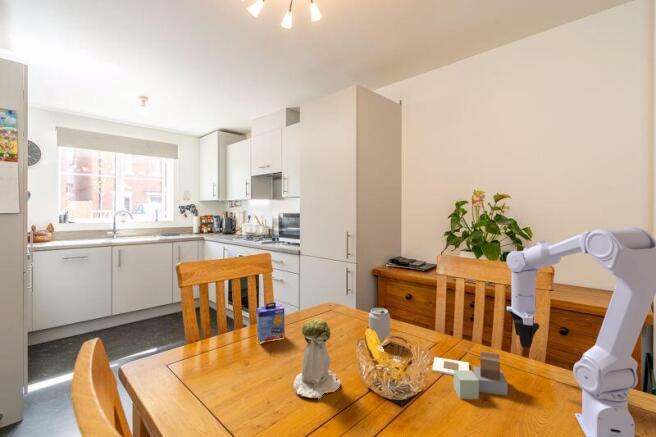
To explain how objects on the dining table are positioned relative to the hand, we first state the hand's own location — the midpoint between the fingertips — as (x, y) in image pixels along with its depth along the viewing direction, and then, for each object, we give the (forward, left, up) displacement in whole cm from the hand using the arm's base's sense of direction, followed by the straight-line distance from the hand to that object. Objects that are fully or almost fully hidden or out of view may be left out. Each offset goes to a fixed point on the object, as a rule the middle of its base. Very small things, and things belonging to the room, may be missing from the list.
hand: (523, 340), depth 87 cm
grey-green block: (-14, +15, -10) cm, 23 cm away
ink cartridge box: (-4, +82, -11) cm, 83 cm away
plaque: (-2, +19, -10) cm, 22 cm away
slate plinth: (-8, +9, -11) cm, 16 cm away
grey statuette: (-25, +53, -11) cm, 60 cm away
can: (+7, +43, -11) cm, 45 cm away
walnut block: (-8, +9, -7) cm, 14 cm away
